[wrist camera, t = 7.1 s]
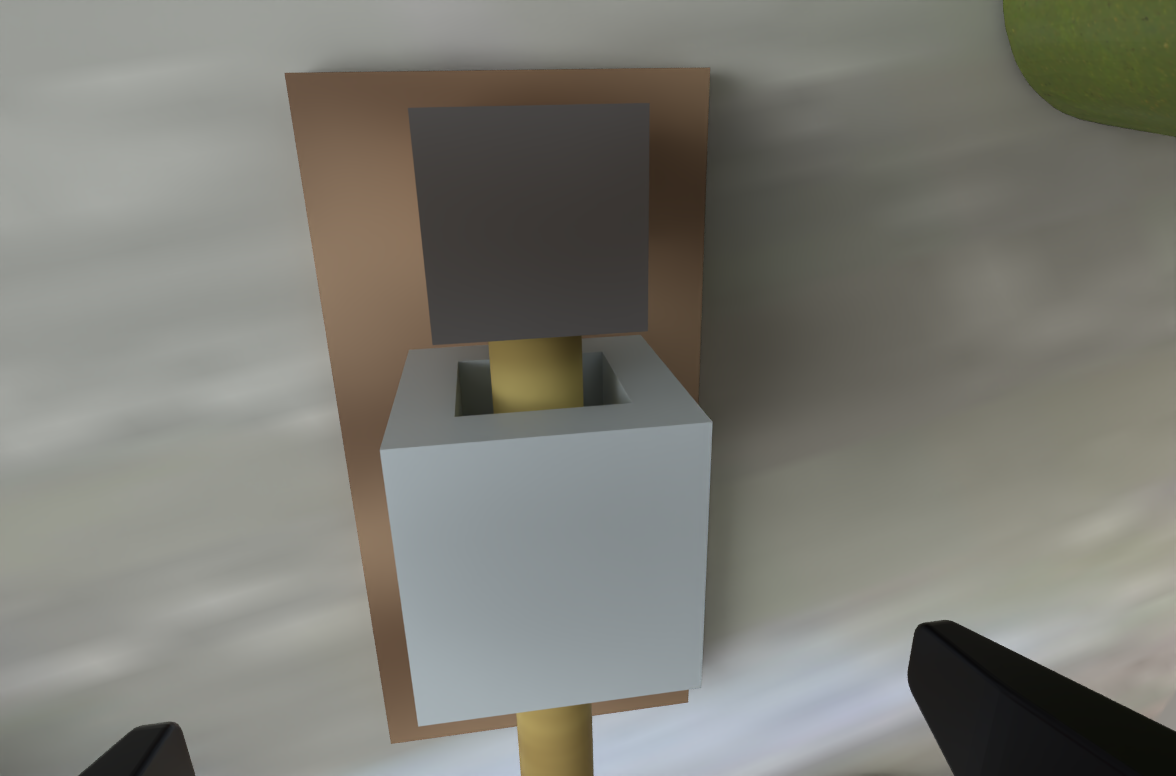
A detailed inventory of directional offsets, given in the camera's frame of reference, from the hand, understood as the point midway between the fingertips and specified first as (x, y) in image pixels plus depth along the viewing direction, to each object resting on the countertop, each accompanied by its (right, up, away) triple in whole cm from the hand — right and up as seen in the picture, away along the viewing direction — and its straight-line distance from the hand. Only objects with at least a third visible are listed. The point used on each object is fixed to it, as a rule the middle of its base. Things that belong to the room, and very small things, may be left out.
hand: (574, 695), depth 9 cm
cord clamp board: (-2, +2, +11) cm, 11 cm away
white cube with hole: (-1, +2, +7) cm, 7 cm away
